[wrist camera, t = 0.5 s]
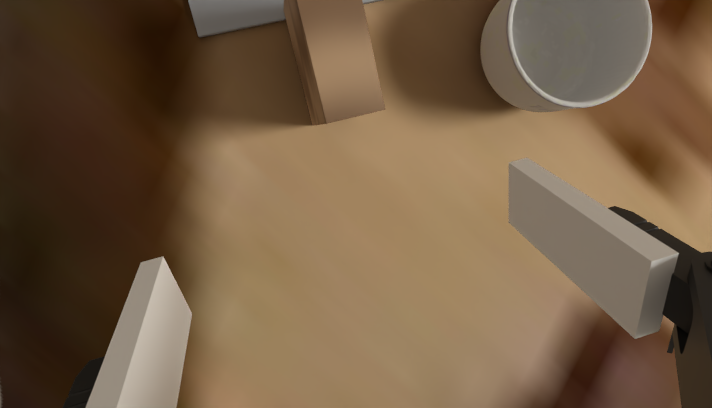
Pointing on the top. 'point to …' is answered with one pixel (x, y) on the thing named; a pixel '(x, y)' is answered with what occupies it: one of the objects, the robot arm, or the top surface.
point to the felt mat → (236, 14)
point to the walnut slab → (334, 58)
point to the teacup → (564, 51)
